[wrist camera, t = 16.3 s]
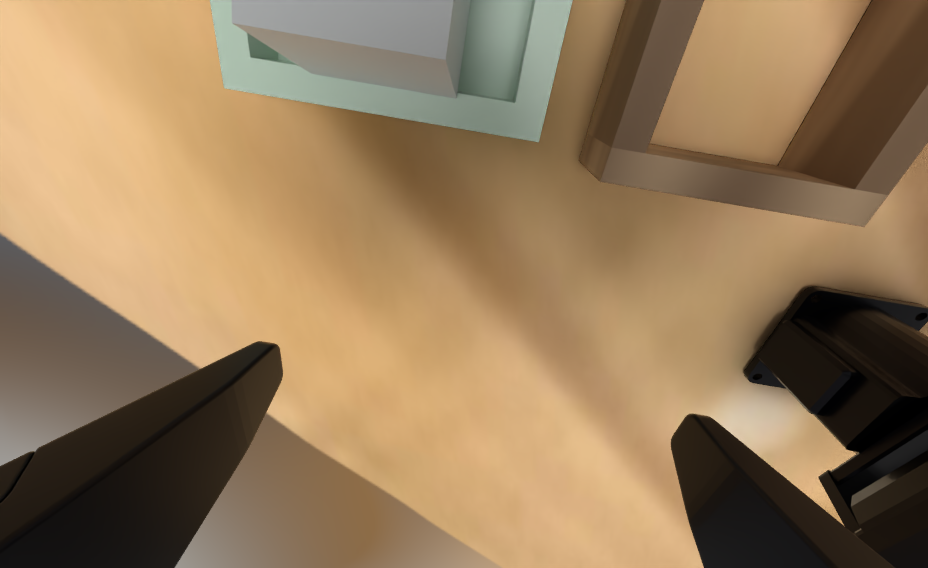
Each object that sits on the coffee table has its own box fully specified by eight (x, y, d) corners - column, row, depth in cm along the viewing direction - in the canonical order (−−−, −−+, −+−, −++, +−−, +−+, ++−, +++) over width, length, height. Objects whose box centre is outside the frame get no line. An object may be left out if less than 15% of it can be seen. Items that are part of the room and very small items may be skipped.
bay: (926, -31, 13) (1088, -73, 9) (788, 196, 17) (864, 227, 13) (650, -79, 13) (708, -140, 9) (578, 160, 17) (600, 181, 13)
